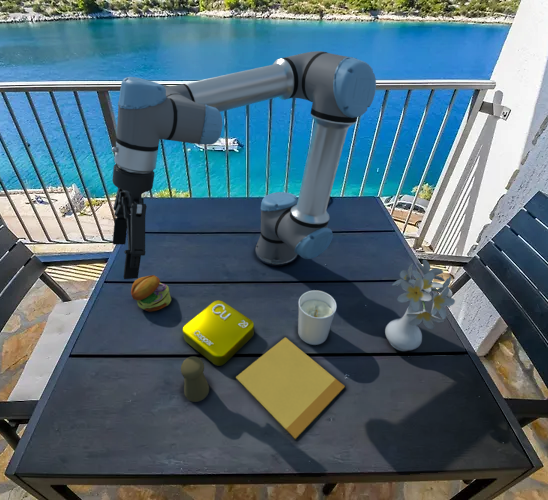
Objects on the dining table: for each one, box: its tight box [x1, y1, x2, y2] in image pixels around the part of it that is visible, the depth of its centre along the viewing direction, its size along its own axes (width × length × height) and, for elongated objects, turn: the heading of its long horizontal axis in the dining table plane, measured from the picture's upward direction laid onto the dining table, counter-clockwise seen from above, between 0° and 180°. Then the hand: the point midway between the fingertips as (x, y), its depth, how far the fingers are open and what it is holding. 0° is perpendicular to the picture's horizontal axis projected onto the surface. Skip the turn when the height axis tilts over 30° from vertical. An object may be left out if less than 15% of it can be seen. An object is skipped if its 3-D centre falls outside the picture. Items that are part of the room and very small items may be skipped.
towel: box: [235, 337, 346, 440], centre depth 86 cm, size 18×20×1 cm
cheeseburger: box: [130, 274, 172, 313], centre depth 105 cm, size 10×11×10 cm
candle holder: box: [297, 289, 338, 346], centre depth 94 cm, size 10×10×12 cm
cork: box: [180, 356, 210, 403], centre depth 81 cm, size 6×6×11 cm
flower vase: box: [384, 259, 456, 352], centre depth 87 cm, size 13×18×25 cm
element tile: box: [181, 299, 255, 367], centre depth 96 cm, size 15×15×5 cm
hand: (124, 259), depth 76 cm, fingers open, 13 cm apart
